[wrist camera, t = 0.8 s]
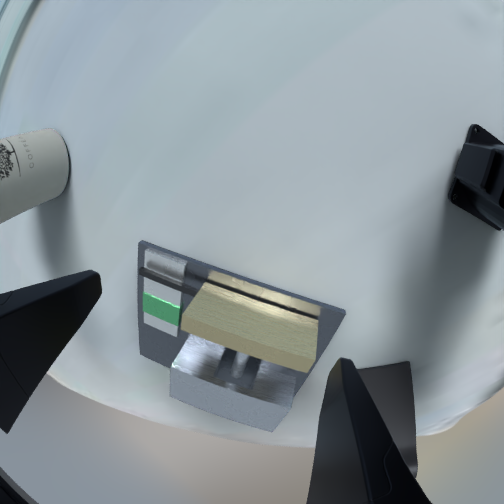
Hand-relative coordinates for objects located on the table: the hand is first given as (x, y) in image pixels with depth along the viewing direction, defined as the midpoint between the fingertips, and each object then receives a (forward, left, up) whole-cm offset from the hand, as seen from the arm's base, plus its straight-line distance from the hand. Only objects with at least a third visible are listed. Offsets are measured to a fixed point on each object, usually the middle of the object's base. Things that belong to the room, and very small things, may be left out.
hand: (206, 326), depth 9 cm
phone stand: (-17, +15, -13) cm, 27 cm away
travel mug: (+25, +1, -13) cm, 28 cm away
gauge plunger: (+2, +11, -12) cm, 17 cm away
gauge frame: (+1, +14, -13) cm, 19 cm away
